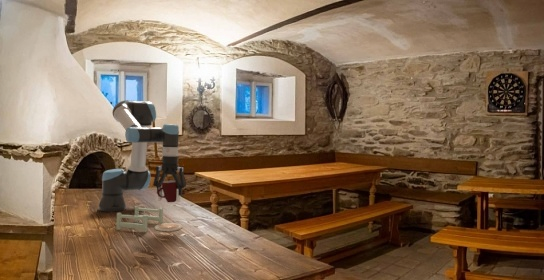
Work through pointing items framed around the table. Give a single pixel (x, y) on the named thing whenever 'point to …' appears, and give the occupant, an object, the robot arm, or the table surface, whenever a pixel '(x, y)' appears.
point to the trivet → (168, 227)
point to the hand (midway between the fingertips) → (169, 201)
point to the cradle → (137, 217)
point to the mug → (169, 191)
